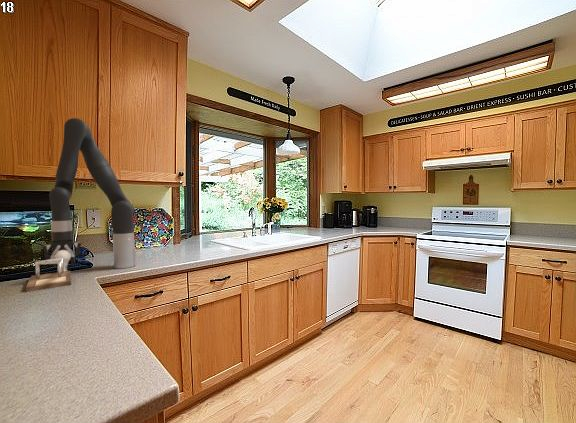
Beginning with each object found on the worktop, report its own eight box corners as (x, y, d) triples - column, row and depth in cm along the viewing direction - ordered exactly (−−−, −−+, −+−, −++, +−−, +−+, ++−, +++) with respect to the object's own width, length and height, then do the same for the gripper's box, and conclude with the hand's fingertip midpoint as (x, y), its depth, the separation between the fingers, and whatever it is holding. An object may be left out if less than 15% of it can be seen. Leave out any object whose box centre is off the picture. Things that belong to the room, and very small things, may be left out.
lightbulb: (51, 274, 123) (50, 250, 122) (59, 271, 129) (58, 248, 128) (68, 273, 125) (67, 250, 124) (74, 270, 131) (74, 247, 130)
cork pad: (66, 277, 113) (66, 276, 113) (65, 281, 108) (65, 280, 108) (36, 281, 108) (36, 280, 108) (35, 286, 102) (35, 284, 102)
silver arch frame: (63, 272, 121) (63, 256, 121) (63, 277, 114) (62, 260, 114) (36, 275, 116) (36, 259, 115) (34, 281, 108) (34, 263, 108)
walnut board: (70, 273, 124) (70, 270, 124) (70, 284, 109) (70, 281, 109) (31, 279, 116) (31, 275, 116) (26, 291, 100) (25, 287, 100)
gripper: (81, 228, 133) (82, 262, 134) (41, 230, 124) (43, 266, 125) (81, 229, 128) (82, 265, 128) (40, 232, 118) (41, 270, 119)
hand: (63, 265), depth 127 cm, fingers closed on lightbulb, 6 cm apart
